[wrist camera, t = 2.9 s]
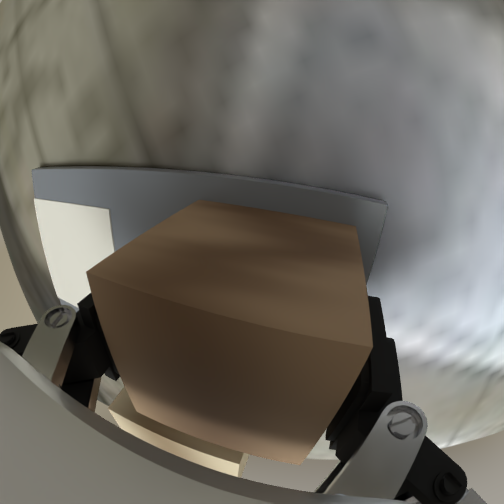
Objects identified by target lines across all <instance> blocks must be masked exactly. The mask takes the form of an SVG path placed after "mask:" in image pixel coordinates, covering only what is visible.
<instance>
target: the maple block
mask: <svg viewBox="0 0 504 504" xmlns="http://www.w3.org/2000/svg"><path fill="white" fill-rule="evenodd" d="M108 409H109V411H110V412H111V414H112V415H113V417H114V418H115V420H116V422H117V423H118V425H119V426H120V428H121V429H123V430H124V431H126V432H128V433H130V434H132V435H134V436H136V437H138V438H140V439H141V440H143V441H145V442H147V443H150V444H152V445H154V446H156V447H158V448H160V449H162V450H165V451H167V452H169V453H171V454H174V455H176V456H179V457H181V458H183V459H186V460H189V461H191V462H194V463H196V464H199V465H202V466H205V467H207V468H210V469H213V470H216V471H219V472H223V473H226V474H229V475H232V476H236V477H239V478H241V476H242V473H243V471H244V468H245V465H246V463H247V460H248V458H249V455H250V454H247V453H243V452H239V451H236V450H232V449H229V448H226V447H223V446H219V445H216V444H213V443H210V442H208V441H205V440H202V439H199V438H196V437H194V436H191V435H188V434H186V433H183V432H181V431H178V430H176V429H174V428H171V427H169V426H166V425H164V424H162V423H160V422H157V421H155V420H153V419H151V418H149V417H147V416H145V415H143V414H141V413H139V412H137V411H136V409H135V407H134V405H133V403H132V401H131V399H130V397H129V395H128V393H127V390H126V388H125V387H124V388H123V389H122V390H121V392H120V393H119V394H118V396H117V397H116V398H115V400H114V401H113V402H112V403H111V405H110V406H109V408H108Z"/></svg>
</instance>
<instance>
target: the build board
mask: <svg viewBox="0 0 504 504" xmlns="http://www.w3.org/2000/svg"><path fill="white" fill-rule="evenodd" d="M32 178H33V187H34V195H35V198H34V203H35V209H36V215H37V220H38V225H39V230H40V235H41V240H42V244H43V248H44V252H45V256H46V260H47V264H48V267H49V271H50V274H51V278H52V281H53V284H54V287H55V290H56V293H57V296H58V297H59V299H60V302H61V305H69V306H71V307H73V308H74V309H75V311H76V312H77V311H79V308H78V305H77V303H79V302H80V301H81V300H82V299H84V298H85V297H86V296H87V295H88V294H90V293H91V290H90V286H89V282H88V278H87V274H86V271H88V270H89V269H91V268H92V267H93V266H95V265H96V264H98V263H99V262H101V261H102V260H104V259H105V258H106V257H108V256H109V255H111V254H112V253H114V252H115V251H117V250H118V249H120V248H121V247H123V246H124V245H126V244H127V243H129V242H130V241H132V240H133V239H135V238H137V237H138V236H140V235H141V234H143V233H144V232H146V231H148V230H149V229H151V228H152V227H154V226H156V225H157V224H159V223H160V222H162V221H164V220H165V219H167V218H169V217H170V216H172V215H174V214H175V213H177V212H179V211H180V210H182V209H184V208H185V207H187V206H189V205H190V204H192V203H194V202H196V201H197V200H205V201H213V202H220V203H226V204H233V205H240V206H246V207H253V208H259V209H265V210H271V211H277V212H283V213H288V214H294V215H300V216H305V217H311V218H316V219H321V220H327V221H332V222H337V223H342V224H347V225H352V226H356V230H357V235H358V240H359V245H360V251H361V256H362V262H363V268H364V274H365V281H366V285H367V281H368V278H369V275H370V272H371V269H372V265H373V262H374V258H375V255H376V251H377V248H378V244H379V241H380V237H381V233H382V229H383V225H384V221H385V217H386V213H387V208H388V205H387V203H386V202H385V201H382V200H378V199H373V198H369V197H364V196H359V195H355V194H350V193H345V192H340V191H334V190H329V189H324V188H318V187H312V186H307V185H301V184H294V183H288V182H282V181H275V180H268V179H261V178H253V177H245V176H237V175H228V174H219V173H209V172H198V171H187V170H173V169H158V168H139V167H106V166H69V167H38V168H35V169H32Z"/></svg>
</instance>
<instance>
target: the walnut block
mask: <svg viewBox="0 0 504 504" xmlns="http://www.w3.org/2000/svg"><path fill="white" fill-rule="evenodd" d="M86 274H87V278H88V282H89V286H90V290H91V294H92V297H93V301H94V304H95V308H96V311H97V314H98V317H99V321H100V324H101V327H102V330H103V333H104V335H105V338H106V341H107V344H108V347H109V349H110V352H111V355H112V357H113V360H114V362H115V365H116V367H117V370H118V372H119V374H120V377H121V379H122V381H123V384H124V386H125V388H126V390H127V393H128V395H129V397H130V399H131V401H132V403H133V405H134V407H135V409H136V411H137V412H139V413H141V414H143V415H145V416H147V417H149V418H151V419H153V420H155V421H157V422H160V423H162V424H164V425H166V426H169V427H171V428H174V429H176V430H178V431H181V432H183V433H186V434H188V435H191V436H194V437H196V438H199V439H202V440H205V441H208V442H210V443H213V444H216V445H219V446H223V447H226V448H229V449H232V450H236V451H239V452H243V453H247V454H250V455H255V456H258V457H262V458H267V459H271V460H276V461H281V462H286V463H291V464H297V465H300V464H301V463H302V462H303V461H304V459H305V458H306V457H307V455H308V454H309V453H310V451H311V450H312V449H313V447H314V446H315V444H316V443H317V442H318V440H319V439H320V437H321V436H322V434H323V433H324V431H325V430H326V428H327V427H328V425H329V424H330V422H331V421H332V419H333V418H334V416H335V415H336V413H337V411H338V410H339V408H340V407H341V405H342V403H343V402H344V400H345V398H346V397H347V395H348V393H349V391H350V390H351V388H352V386H353V384H354V383H355V381H356V379H357V377H358V375H359V374H360V372H361V370H362V368H363V366H364V364H365V362H366V360H367V358H368V356H369V354H370V352H371V350H372V348H373V341H372V330H371V320H370V311H369V303H368V295H367V288H366V281H365V274H364V268H363V262H362V256H361V251H360V245H359V240H358V235H357V230H356V226H352V225H347V224H342V223H337V222H332V221H327V220H321V219H316V218H311V217H305V216H300V215H294V214H288V213H283V212H277V211H271V210H265V209H259V208H253V207H246V206H240V205H233V204H226V203H220V202H213V201H205V200H197V201H196V202H194V203H192V204H190V205H189V206H187V207H185V208H184V209H182V210H180V211H179V212H177V213H175V214H174V215H172V216H170V217H169V218H167V219H165V220H164V221H162V222H160V223H159V224H157V225H156V226H154V227H152V228H151V229H149V230H148V231H146V232H144V233H143V234H141V235H140V236H138V237H137V238H135V239H133V240H132V241H130V242H129V243H127V244H126V245H124V246H123V247H121V248H120V249H118V250H117V251H115V252H114V253H112V254H111V255H109V256H108V257H106V258H105V259H104V260H102V261H101V262H99V263H98V264H96V265H95V266H93V267H92V268H91V269H89V270H88V271H86Z"/></svg>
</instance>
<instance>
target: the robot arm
mask: <svg viewBox="0 0 504 504" xmlns="http://www.w3.org/2000/svg"><path fill="white" fill-rule="evenodd" d="M368 303H369V311H370V320H371V330H372V341H373V348H372V350H371V352H370V354H369V356H368V358H367V360H366V362H365V364H364V366H363V368H362V370H361V372H360V374H359V375H358V377H357V379H356V381H355V383H354V384H353V386H352V388H351V390H350V391H349V393H348V395H347V397H346V398H345V400H344V402H343V403H342V405H341V407H340V408H339V410H338V411H337V413H336V415H335V416H334V418H333V419H332V421H331V422H330V424H329V425H328V427H327V430H326V440H329V441H330V447H329V449H333V450H336V454H335V455H336V456H337V458H338V459H339V462H338V463H337V464H336V466H335V467H334V468H333V470H332V471H331V472H330V473H329V474H328V476H327V477H326V478H325V479H324V480H323V481H322V483H321V484H320V485H319V486H318V487H317V488H316V490H315V491H314V492H306V491H299V490H294V489H288V488H282V487H277V486H272V485H267V484H263V483H259V482H254V481H250V480H247V479H243V478H239V477H236V476H232V475H229V474H226V473H223V472H219V471H216V470H213V469H210V468H207V467H205V466H202V465H199V464H196V463H194V462H191V461H189V460H186V459H183V458H181V457H179V456H176V455H174V454H171V453H169V452H167V451H165V450H162V449H160V448H158V447H156V446H154V445H152V444H150V443H147V442H145V441H143V440H141V439H140V438H138V437H136V436H134V435H132V434H130V433H128V432H126V431H124V430H123V429H121V428H119V427H117V426H115V425H114V424H112V423H110V422H109V421H107V420H105V419H104V418H102V417H101V416H99V415H97V414H96V413H95V407H96V401H97V396H98V391H99V386H100V381H101V376H102V375H103V374H104V373H105V375H106V376H108V377H109V378H111V379H113V380H115V381H117V379H118V378H119V377H120V374H119V372H118V370H117V367H116V365H115V362H114V360H113V357H112V355H111V352H110V349H109V347H108V344H107V341H106V338H105V335H104V333H103V330H102V327H101V324H100V321H99V317H98V314H97V311H96V308H95V304H94V301H93V297H92V294H91V293H90V294H88V295H87V296H86V297H85V298H84V299H82V300H81V301H80V302H79V303H77V305H78V308H79V311H77V312H76V311H75V309H74V308H73V307H71V306H69V305H58V306H54V307H52V308H50V309H49V310H48V311H46V312H45V313H44V315H43V316H42V318H41V319H40V321H39V323H38V324H34V325H27V326H21V327H16V328H10V329H6V330H4V331H2V332H1V334H0V504H487V503H486V502H485V501H484V500H483V499H482V498H481V497H480V496H479V495H478V494H477V493H476V492H475V491H474V490H473V489H472V488H471V489H469V490H468V489H467V488H466V487H467V477H466V475H465V472H464V471H463V470H462V469H461V467H460V466H459V465H457V464H456V463H455V462H454V461H453V460H452V459H451V458H450V457H448V456H447V455H446V454H445V453H444V452H443V451H442V450H441V449H440V448H439V447H437V446H436V445H435V444H434V443H433V442H432V441H431V440H430V439H429V438H428V437H426V436H425V434H426V431H427V427H428V425H427V418H426V416H425V414H424V412H423V411H422V410H421V409H420V408H419V407H418V406H416V405H415V404H413V403H411V402H408V401H403V400H402V390H401V382H400V374H399V366H398V359H397V353H396V347H395V342H394V340H393V339H392V338H387V337H386V331H385V325H384V319H383V313H382V308H381V302H380V298H377V297H372V296H368Z"/></svg>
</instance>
